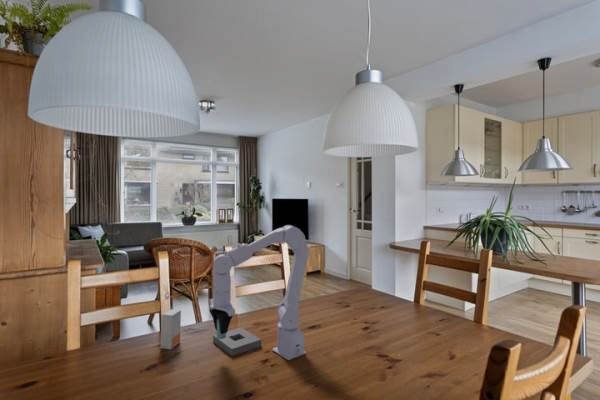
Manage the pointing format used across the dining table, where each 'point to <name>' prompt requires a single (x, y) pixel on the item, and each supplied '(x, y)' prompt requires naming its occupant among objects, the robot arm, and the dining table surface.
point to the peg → (219, 335)
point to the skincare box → (170, 328)
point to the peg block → (237, 341)
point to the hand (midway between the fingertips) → (221, 331)
